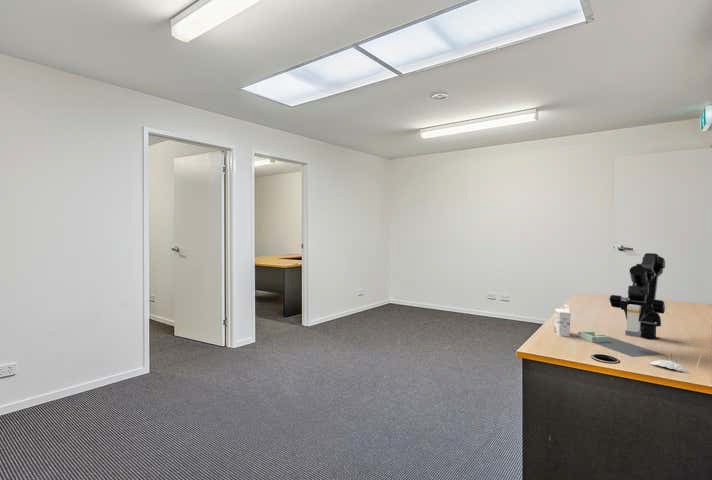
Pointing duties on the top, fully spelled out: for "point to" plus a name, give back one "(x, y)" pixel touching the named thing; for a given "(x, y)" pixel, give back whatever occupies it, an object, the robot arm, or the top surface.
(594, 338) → the holder
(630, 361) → the top surface
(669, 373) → the top surface
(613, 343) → the mat
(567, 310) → the ink cartridge box
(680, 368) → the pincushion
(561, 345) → the top surface
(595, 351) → the top surface
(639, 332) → the white rectangular container
